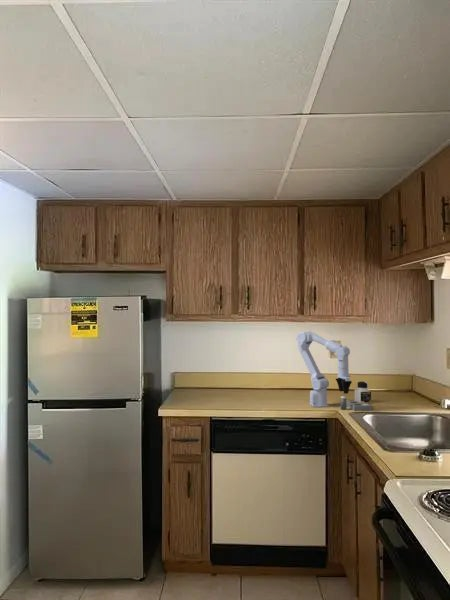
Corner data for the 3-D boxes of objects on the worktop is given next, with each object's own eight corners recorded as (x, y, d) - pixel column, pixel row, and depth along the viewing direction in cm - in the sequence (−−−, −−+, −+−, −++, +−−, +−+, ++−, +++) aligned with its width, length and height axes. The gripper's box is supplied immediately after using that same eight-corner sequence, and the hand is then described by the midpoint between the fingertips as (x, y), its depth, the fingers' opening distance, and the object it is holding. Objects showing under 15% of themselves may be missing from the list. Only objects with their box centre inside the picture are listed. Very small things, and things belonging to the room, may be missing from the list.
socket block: (354, 410, 269) (354, 406, 269) (346, 405, 282) (346, 401, 282) (371, 410, 270) (371, 405, 270) (363, 405, 283) (363, 400, 283)
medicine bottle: (360, 403, 288) (360, 383, 288) (354, 401, 295) (354, 381, 295) (371, 402, 290) (371, 382, 290) (364, 400, 297) (364, 380, 297)
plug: (341, 409, 271) (341, 397, 271) (340, 408, 274) (340, 396, 274) (347, 409, 272) (347, 397, 272) (345, 408, 275) (345, 396, 275)
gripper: (354, 369, 266) (355, 394, 266) (345, 366, 281) (346, 389, 281) (342, 369, 266) (342, 394, 266) (333, 366, 280) (334, 390, 280)
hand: (343, 392), depth 273 cm, fingers open, 7 cm apart
